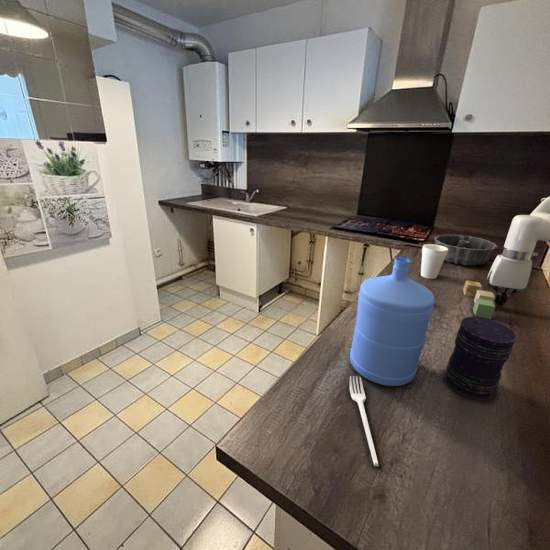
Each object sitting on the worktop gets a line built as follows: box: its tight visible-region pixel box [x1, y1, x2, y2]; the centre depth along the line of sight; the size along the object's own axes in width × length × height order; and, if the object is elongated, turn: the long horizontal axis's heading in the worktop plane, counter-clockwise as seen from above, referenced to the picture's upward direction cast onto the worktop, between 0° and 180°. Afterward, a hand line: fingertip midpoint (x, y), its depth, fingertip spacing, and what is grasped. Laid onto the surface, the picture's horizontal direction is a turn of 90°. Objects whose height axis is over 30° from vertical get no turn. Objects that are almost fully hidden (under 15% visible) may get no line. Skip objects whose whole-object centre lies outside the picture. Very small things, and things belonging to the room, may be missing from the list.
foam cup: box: [420, 243, 448, 280], centre depth 124 cm, size 10×9×13 cm
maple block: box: [462, 280, 483, 298], centre depth 110 cm, size 4×4×4 cm
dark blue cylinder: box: [444, 316, 517, 401], centre depth 64 cm, size 10×10×15 cm
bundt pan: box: [434, 234, 498, 267], centre depth 145 cm, size 26×26×10 cm
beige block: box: [473, 289, 496, 304], centre depth 102 cm, size 4×4×4 cm
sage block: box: [472, 298, 496, 320], centre depth 96 cm, size 4×4×4 cm
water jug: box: [349, 256, 435, 387], centre depth 67 cm, size 16×16×28 cm
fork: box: [349, 375, 379, 467], centre depth 58 cm, size 3×20×2 cm, turn 176°
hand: (498, 304), depth 101 cm, fingers closed
